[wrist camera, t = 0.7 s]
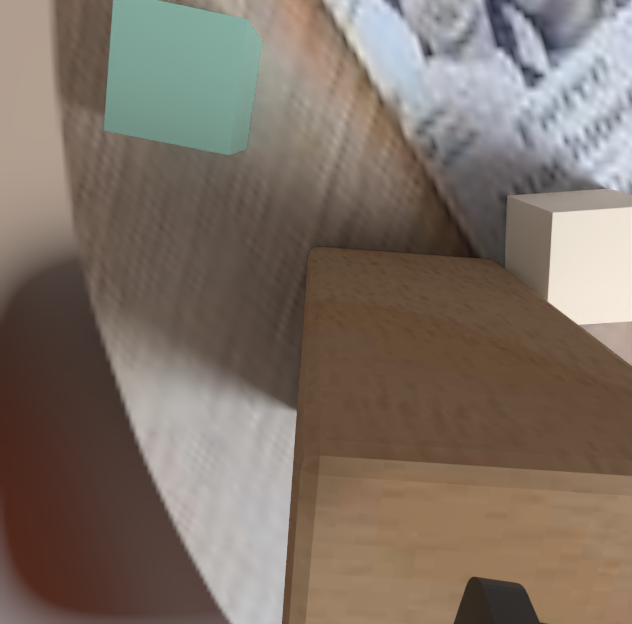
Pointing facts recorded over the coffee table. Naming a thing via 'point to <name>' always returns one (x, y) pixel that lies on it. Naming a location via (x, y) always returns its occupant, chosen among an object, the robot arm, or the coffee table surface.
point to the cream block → (574, 251)
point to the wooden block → (453, 447)
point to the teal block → (181, 75)
